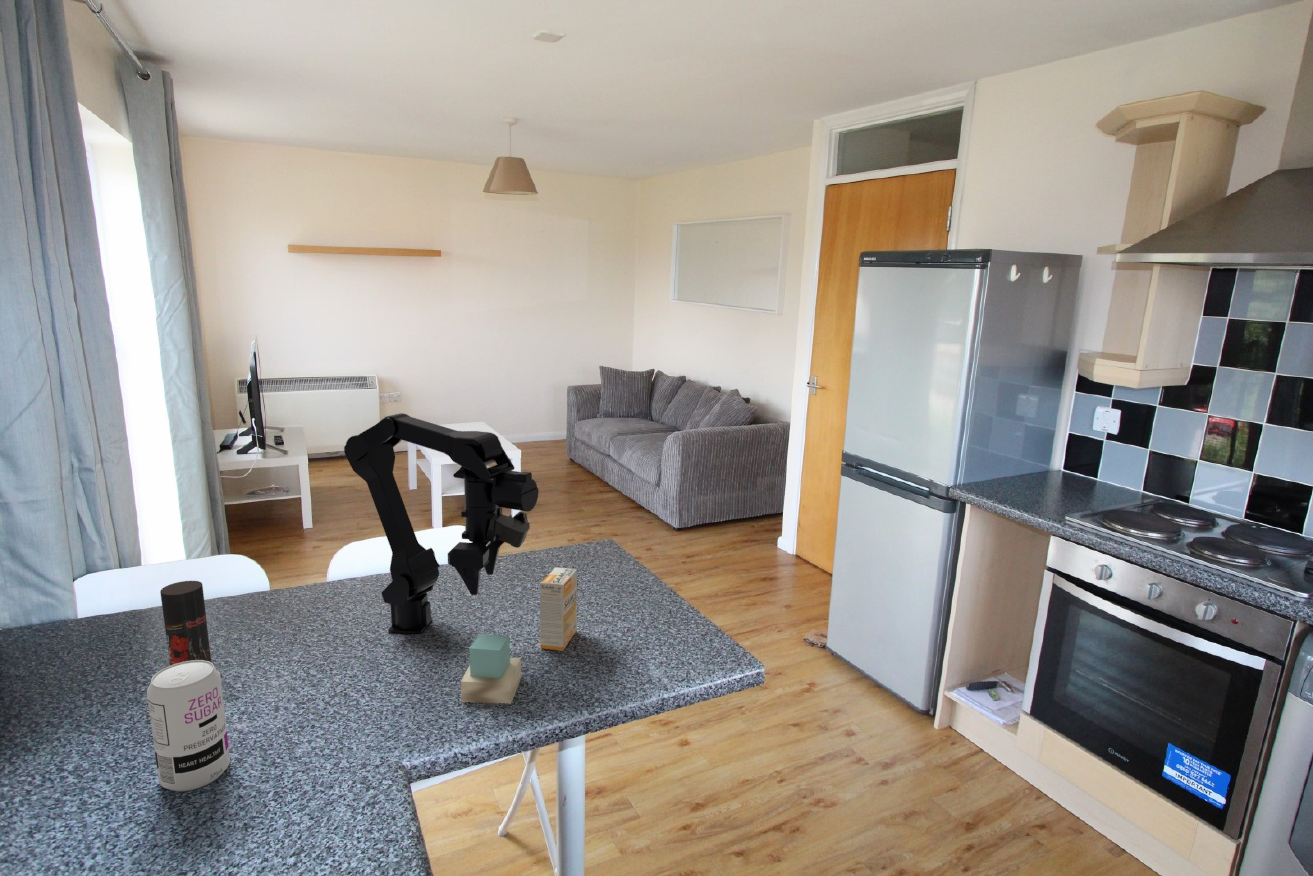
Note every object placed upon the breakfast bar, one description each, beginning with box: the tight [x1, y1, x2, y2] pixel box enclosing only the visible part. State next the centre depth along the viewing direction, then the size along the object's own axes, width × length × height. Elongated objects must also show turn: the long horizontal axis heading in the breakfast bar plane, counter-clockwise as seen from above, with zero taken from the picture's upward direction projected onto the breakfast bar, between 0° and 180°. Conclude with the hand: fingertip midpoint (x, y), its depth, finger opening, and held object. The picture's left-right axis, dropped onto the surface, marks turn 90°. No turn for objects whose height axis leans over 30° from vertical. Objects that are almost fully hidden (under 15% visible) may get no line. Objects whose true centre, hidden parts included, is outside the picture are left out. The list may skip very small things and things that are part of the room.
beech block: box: [460, 657, 522, 705], centre depth 120 cm, size 8×8×4 cm
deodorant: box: [160, 580, 212, 666], centre depth 123 cm, size 6×6×15 cm
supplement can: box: [146, 660, 231, 792], centre depth 97 cm, size 8×8×15 cm
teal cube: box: [468, 633, 511, 679], centre depth 119 cm, size 5×5×5 cm
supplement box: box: [539, 567, 578, 652], centre depth 136 cm, size 8×5×13 cm, turn 168°
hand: (482, 584), depth 133 cm, fingers open, 9 cm apart
